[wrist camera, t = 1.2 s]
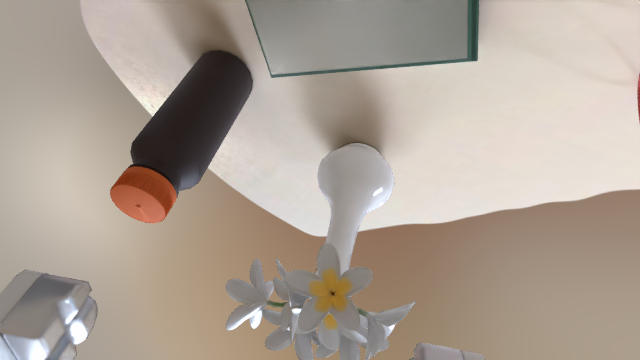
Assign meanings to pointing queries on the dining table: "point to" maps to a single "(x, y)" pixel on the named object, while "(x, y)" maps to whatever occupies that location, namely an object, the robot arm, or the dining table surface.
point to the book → (363, 34)
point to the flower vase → (327, 270)
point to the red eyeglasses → (639, 97)
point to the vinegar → (183, 136)
